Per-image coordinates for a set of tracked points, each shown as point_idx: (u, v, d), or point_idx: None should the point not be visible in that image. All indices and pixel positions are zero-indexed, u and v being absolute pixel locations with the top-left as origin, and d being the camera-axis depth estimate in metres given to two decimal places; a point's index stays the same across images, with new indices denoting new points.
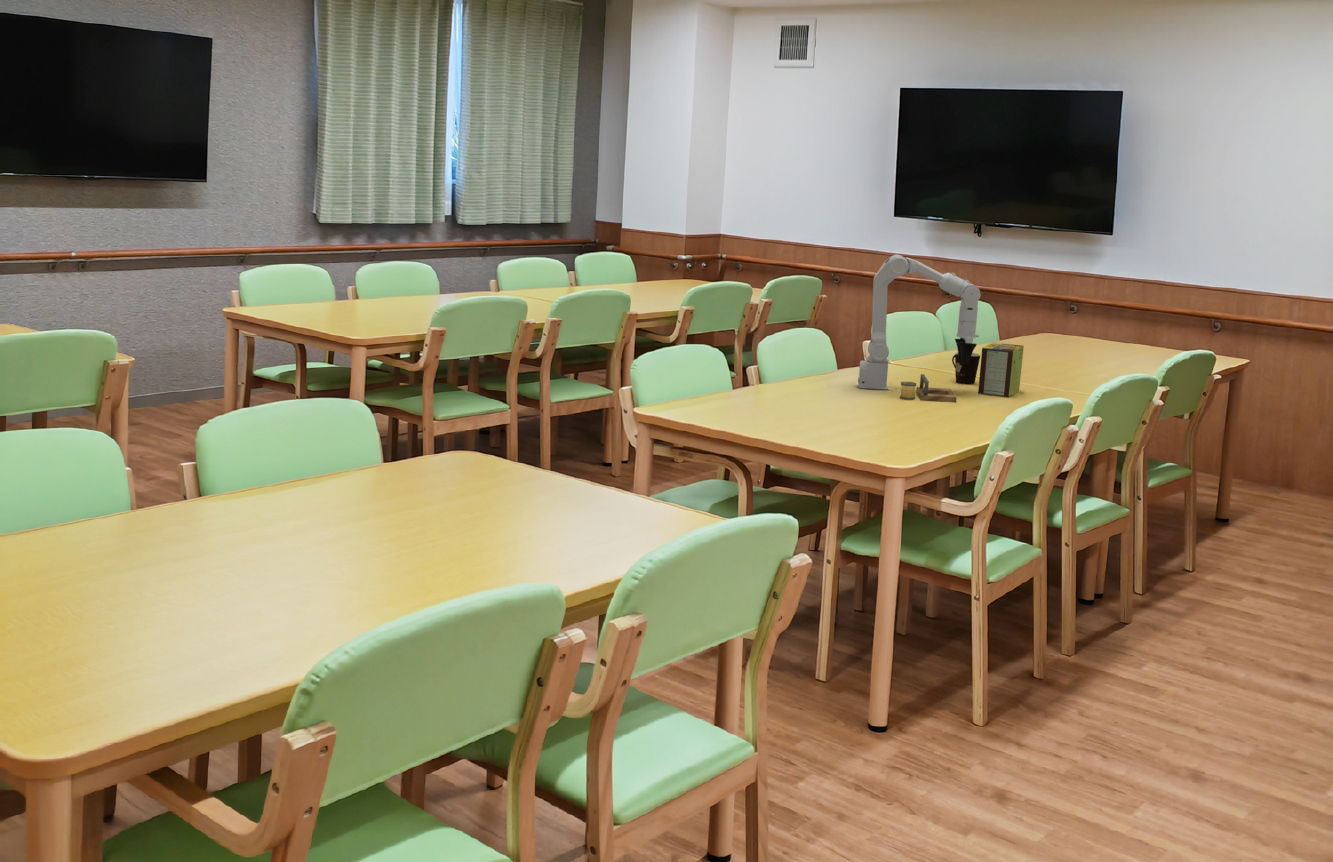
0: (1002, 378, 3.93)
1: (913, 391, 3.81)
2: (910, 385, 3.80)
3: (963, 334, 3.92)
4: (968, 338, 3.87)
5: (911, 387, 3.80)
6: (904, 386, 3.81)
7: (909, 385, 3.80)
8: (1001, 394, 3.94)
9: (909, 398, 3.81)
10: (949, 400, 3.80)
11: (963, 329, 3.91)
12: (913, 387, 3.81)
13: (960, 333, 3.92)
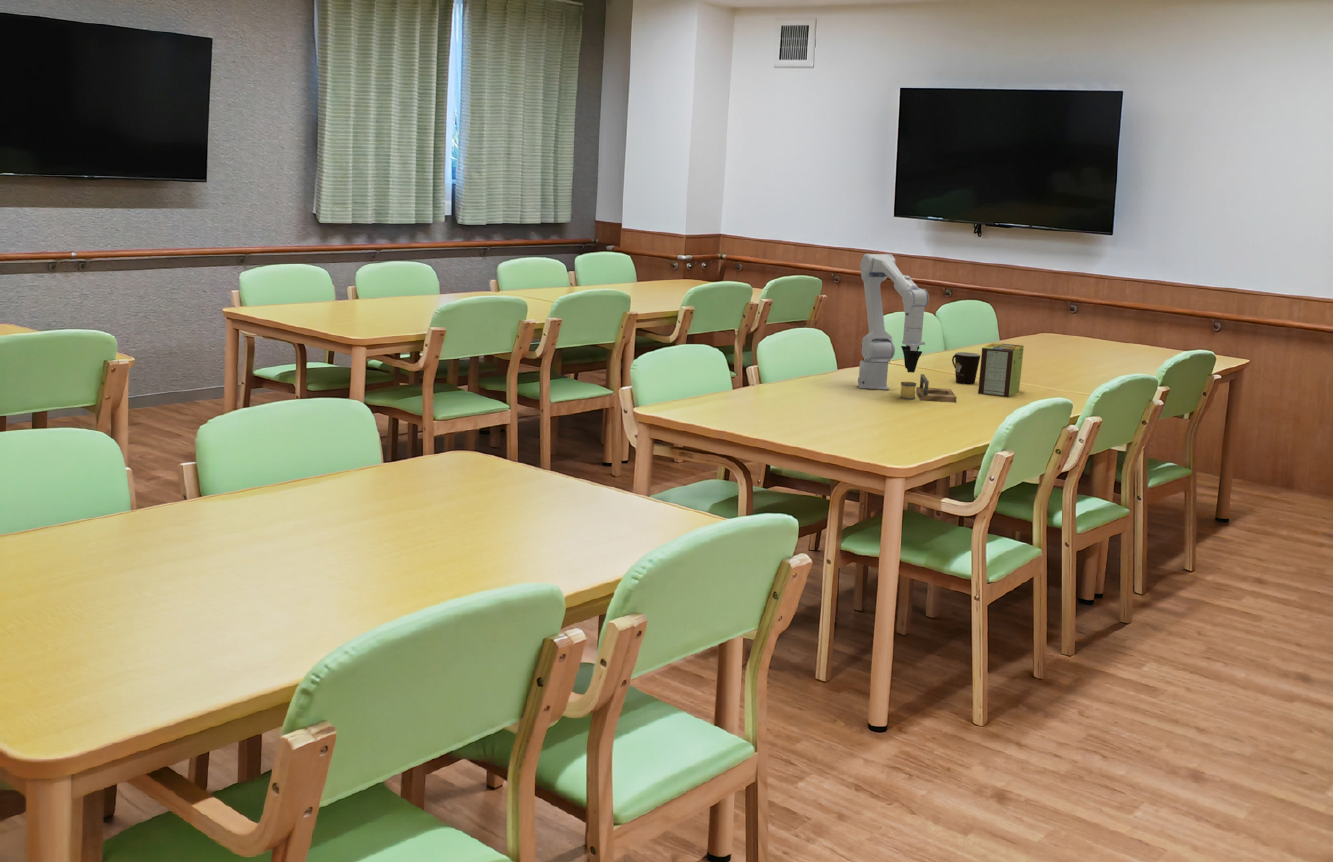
0: (1002, 378, 3.93)
1: (913, 391, 3.81)
2: (910, 385, 3.80)
3: (908, 341, 3.77)
4: (913, 345, 3.72)
5: (911, 387, 3.80)
6: (904, 386, 3.81)
7: (909, 385, 3.80)
8: (1001, 394, 3.94)
9: (909, 398, 3.81)
10: (949, 400, 3.80)
11: (909, 336, 3.77)
12: (913, 387, 3.81)
13: (905, 340, 3.78)
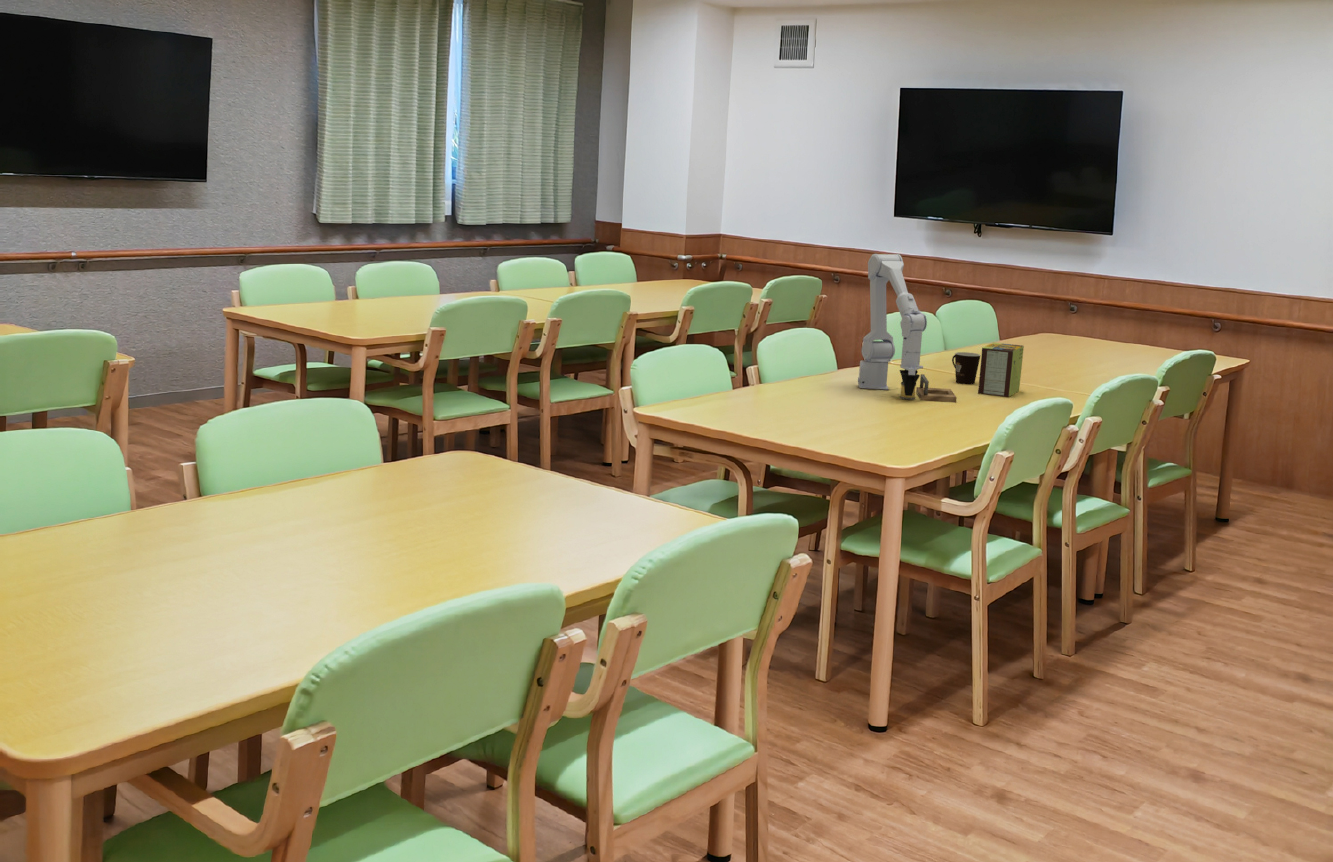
0: (1002, 378, 3.93)
1: (913, 391, 3.81)
2: None
3: (906, 365, 3.79)
4: (911, 370, 3.74)
5: None
6: None
7: None
8: (1001, 394, 3.94)
9: (909, 398, 3.81)
10: (949, 400, 3.80)
11: (907, 360, 3.78)
12: None
13: (903, 364, 3.79)
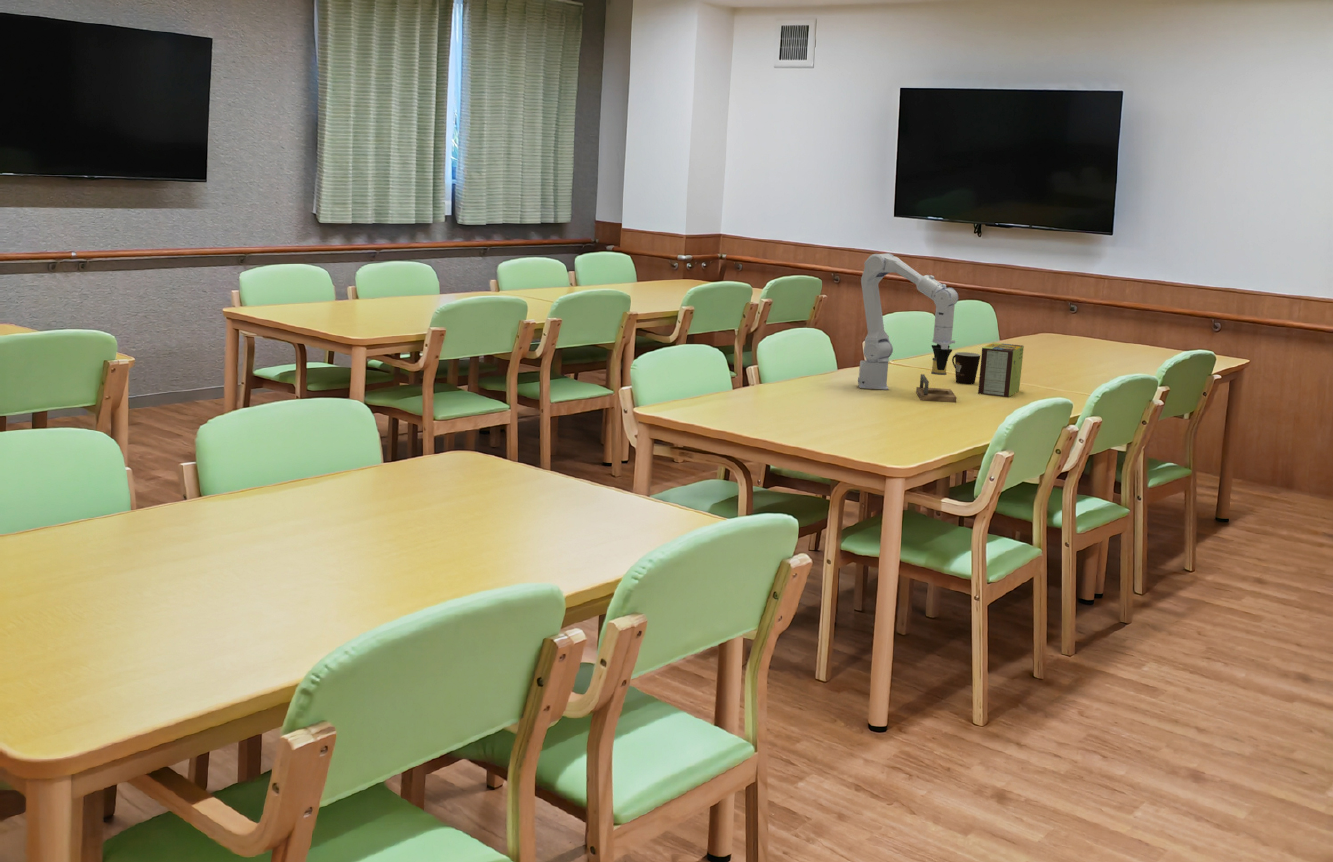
0: (1002, 378, 3.93)
1: None
2: None
3: (939, 340, 3.81)
4: (944, 344, 3.77)
5: None
6: (936, 361, 3.84)
7: None
8: (1001, 394, 3.94)
9: (941, 373, 3.84)
10: (949, 400, 3.80)
11: (939, 335, 3.81)
12: None
13: (936, 339, 3.82)
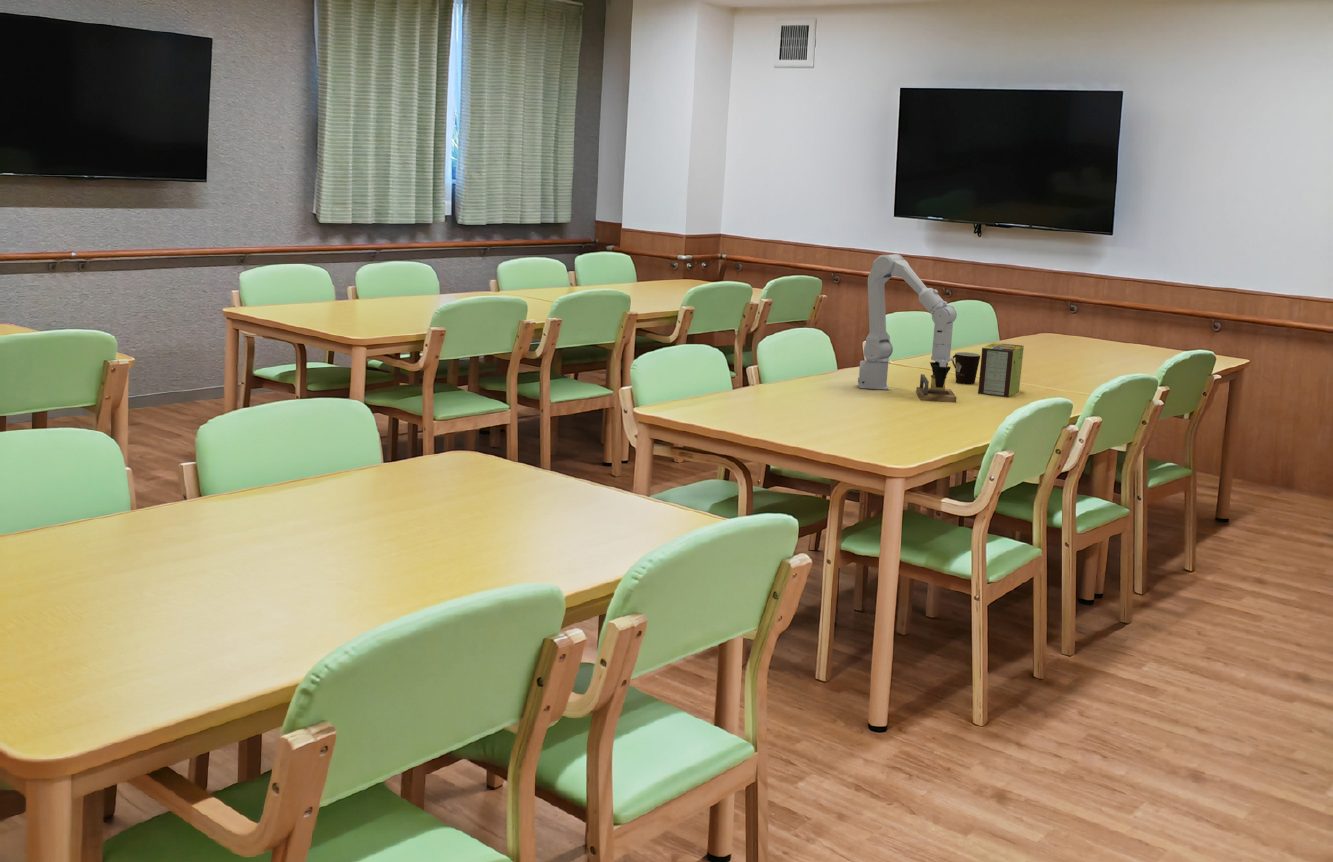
0: (1002, 378, 3.93)
1: None
2: None
3: (937, 357, 3.83)
4: (942, 362, 3.78)
5: None
6: None
7: None
8: (1001, 394, 3.94)
9: (940, 390, 3.85)
10: (949, 400, 3.80)
11: (938, 352, 3.82)
12: None
13: (934, 356, 3.83)
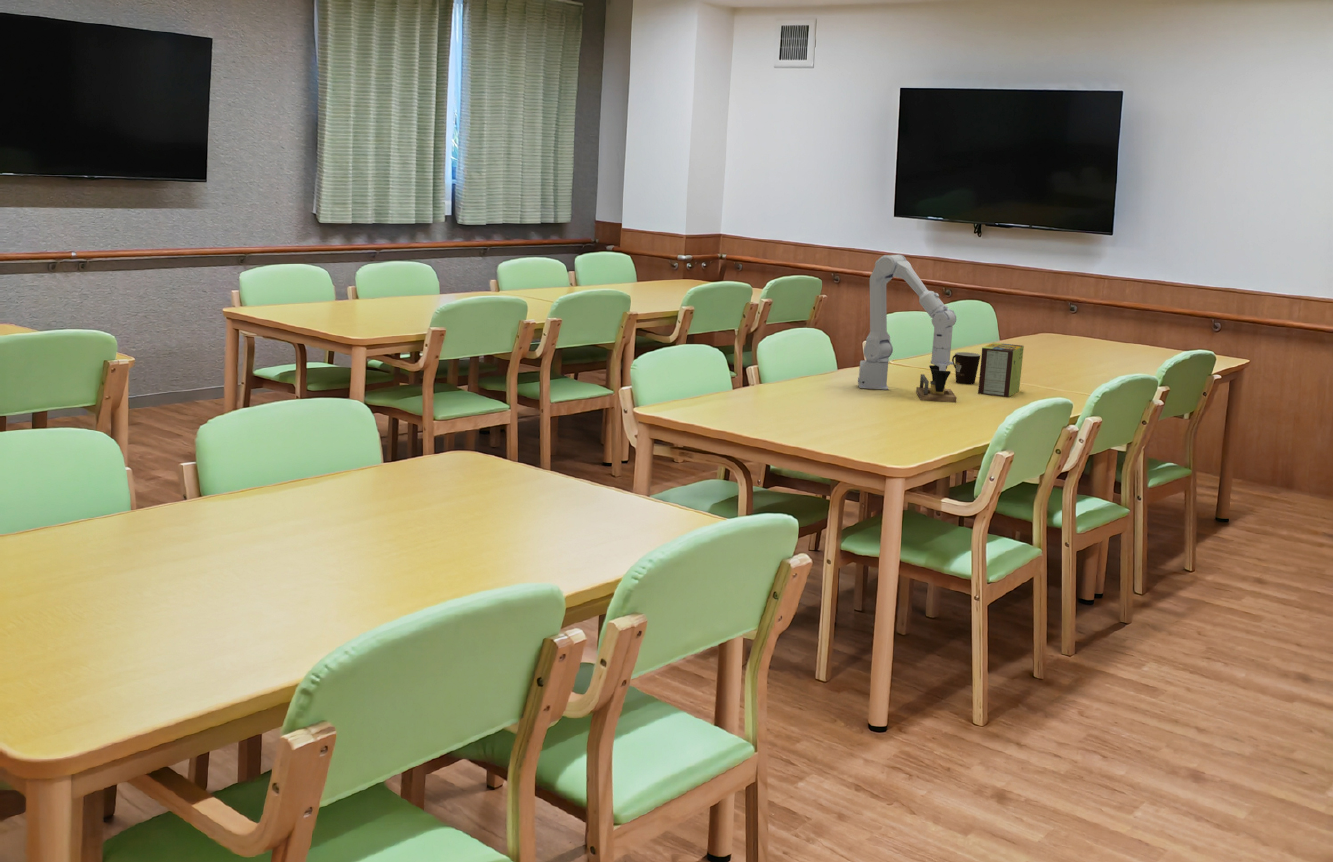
0: (1002, 378, 3.93)
1: (943, 390, 3.86)
2: None
3: (937, 361, 3.83)
4: (942, 366, 3.78)
5: None
6: (934, 385, 3.85)
7: None
8: (1001, 394, 3.94)
9: None
10: (949, 400, 3.80)
11: (937, 356, 3.82)
12: None
13: (934, 360, 3.84)
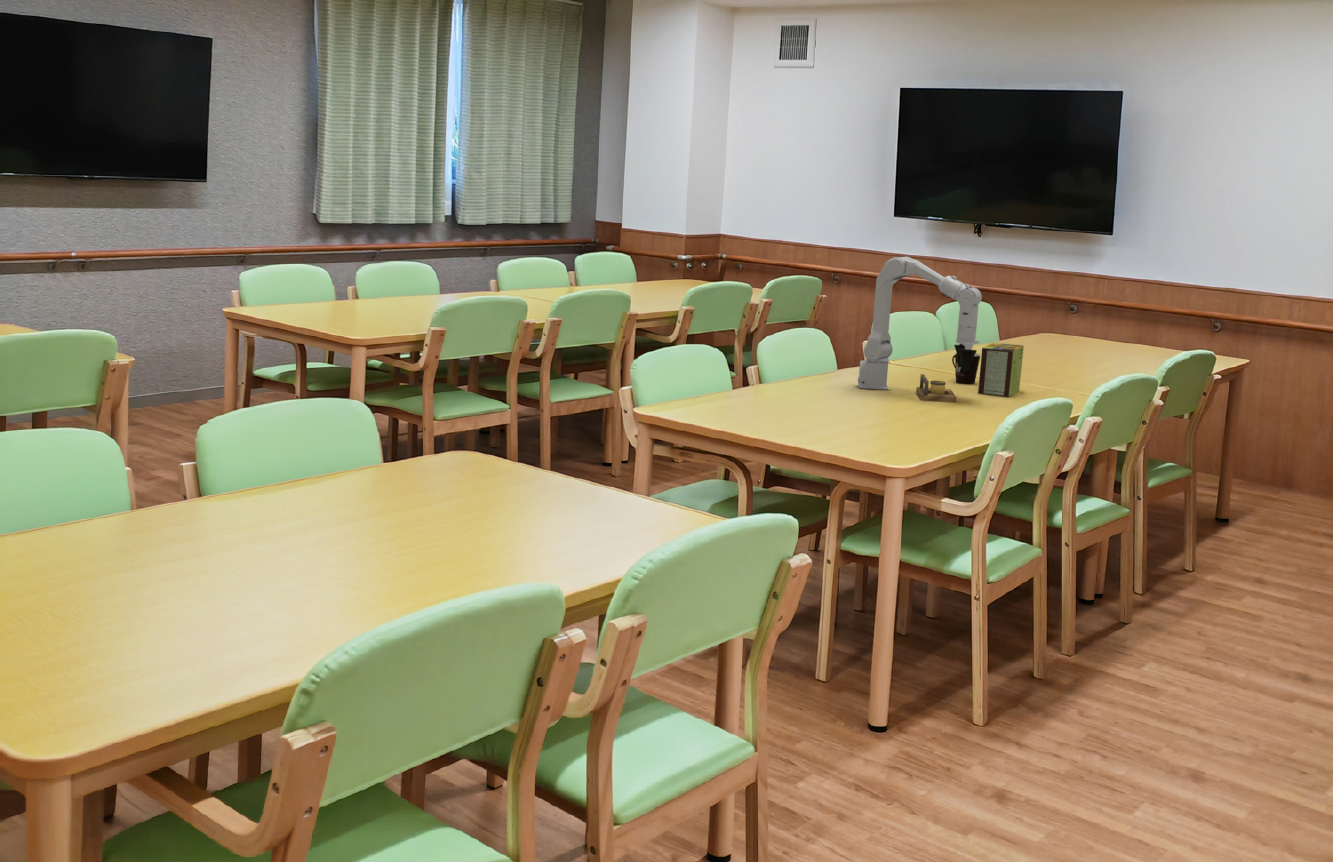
0: (1002, 378, 3.93)
1: (943, 390, 3.86)
2: (940, 384, 3.84)
3: (963, 340, 3.78)
4: (968, 344, 3.74)
5: (941, 386, 3.85)
6: (934, 385, 3.85)
7: (939, 384, 3.84)
8: (1001, 394, 3.94)
9: None
10: (949, 400, 3.80)
11: (963, 335, 3.78)
12: (943, 386, 3.85)
13: (959, 339, 3.79)
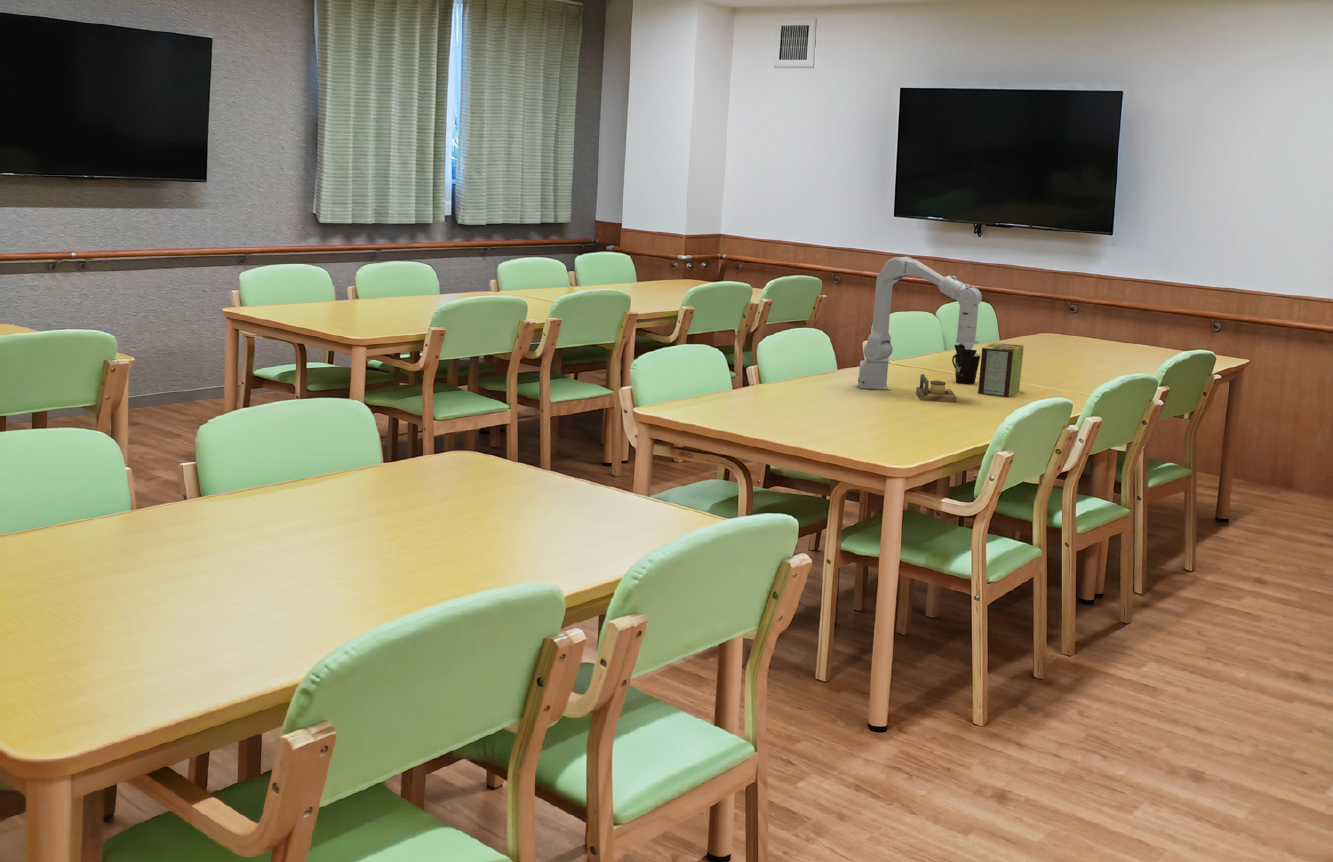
0: (1002, 378, 3.93)
1: (943, 390, 3.86)
2: (940, 384, 3.84)
3: (963, 340, 3.78)
4: (968, 344, 3.74)
5: (941, 386, 3.85)
6: (934, 385, 3.85)
7: (939, 384, 3.84)
8: (1001, 394, 3.94)
9: None
10: (949, 400, 3.80)
11: (963, 335, 3.78)
12: (943, 386, 3.85)
13: (959, 339, 3.79)
